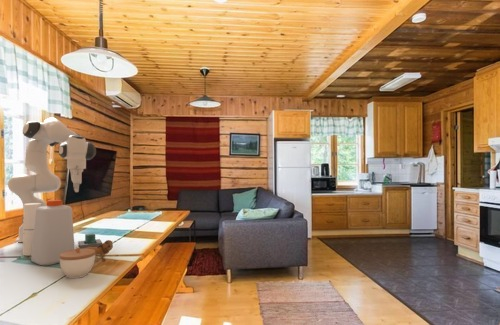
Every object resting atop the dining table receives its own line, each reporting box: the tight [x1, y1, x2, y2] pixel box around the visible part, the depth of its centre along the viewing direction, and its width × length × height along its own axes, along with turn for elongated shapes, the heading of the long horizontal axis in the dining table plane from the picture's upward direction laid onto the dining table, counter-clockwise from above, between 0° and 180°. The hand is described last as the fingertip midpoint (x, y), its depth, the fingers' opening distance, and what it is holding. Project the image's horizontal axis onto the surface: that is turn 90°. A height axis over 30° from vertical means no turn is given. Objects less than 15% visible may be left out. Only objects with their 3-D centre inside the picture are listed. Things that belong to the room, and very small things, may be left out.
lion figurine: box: [87, 239, 114, 262], centre depth 141 cm, size 15×5×9 cm, turn 121°
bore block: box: [77, 238, 103, 249], centre depth 156 cm, size 10×10×5 cm
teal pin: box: [84, 232, 96, 244], centre depth 156 cm, size 4×4×8 cm
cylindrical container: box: [22, 203, 41, 256], centre depth 152 cm, size 7×7×25 cm
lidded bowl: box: [59, 247, 96, 279], centre depth 122 cm, size 13×13×11 cm
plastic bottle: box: [30, 199, 76, 266], centre depth 142 cm, size 15×15×28 cm
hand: (76, 191), depth 163 cm, fingers open, 8 cm apart
